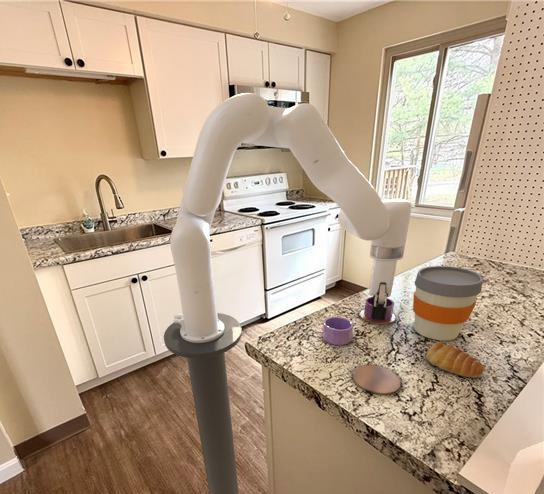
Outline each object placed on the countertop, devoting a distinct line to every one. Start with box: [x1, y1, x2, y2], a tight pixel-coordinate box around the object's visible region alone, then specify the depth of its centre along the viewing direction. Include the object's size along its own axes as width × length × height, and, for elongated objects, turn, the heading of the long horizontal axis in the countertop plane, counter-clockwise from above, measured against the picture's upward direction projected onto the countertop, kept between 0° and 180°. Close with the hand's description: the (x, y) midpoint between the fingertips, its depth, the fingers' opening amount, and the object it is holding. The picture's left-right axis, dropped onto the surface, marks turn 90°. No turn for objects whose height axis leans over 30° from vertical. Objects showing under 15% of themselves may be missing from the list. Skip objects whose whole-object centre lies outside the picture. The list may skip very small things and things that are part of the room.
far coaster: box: [359, 308, 396, 325], centre depth 86 cm, size 9×9×1 cm
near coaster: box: [352, 364, 402, 395], centre depth 64 cm, size 9×9×1 cm
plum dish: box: [363, 296, 395, 321], centre depth 85 cm, size 7×7×4 cm
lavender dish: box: [322, 316, 354, 346], centre depth 78 cm, size 7×7×4 cm
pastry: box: [425, 341, 485, 379], centre depth 64 cm, size 9×7×4 cm
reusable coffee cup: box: [412, 265, 484, 341], centre depth 74 cm, size 13×13×15 cm
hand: (377, 312), depth 86 cm, fingers closed on plum dish, 6 cm apart
